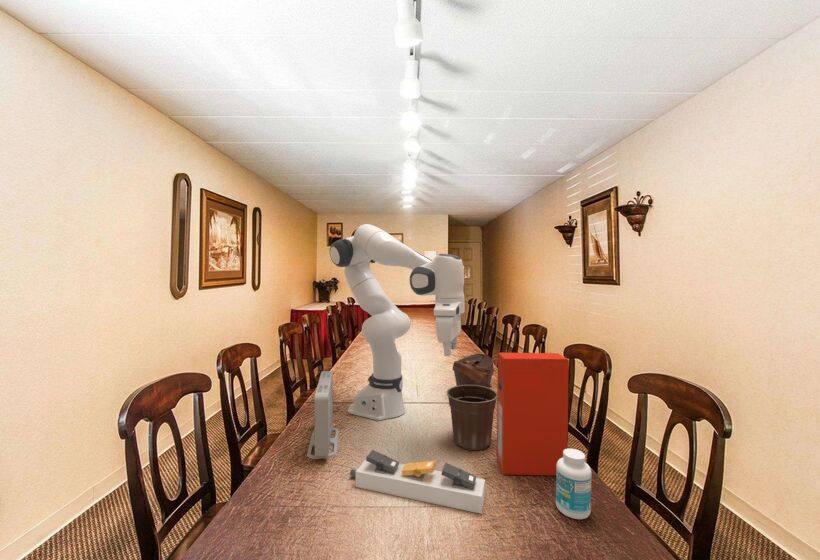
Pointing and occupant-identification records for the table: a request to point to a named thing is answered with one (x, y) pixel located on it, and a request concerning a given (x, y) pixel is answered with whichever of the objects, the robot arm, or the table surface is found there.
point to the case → (474, 370)
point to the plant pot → (472, 415)
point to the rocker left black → (382, 461)
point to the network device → (323, 419)
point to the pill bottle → (573, 485)
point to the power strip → (421, 487)
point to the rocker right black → (459, 476)
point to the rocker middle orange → (418, 468)
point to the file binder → (531, 412)
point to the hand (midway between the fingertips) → (450, 352)
